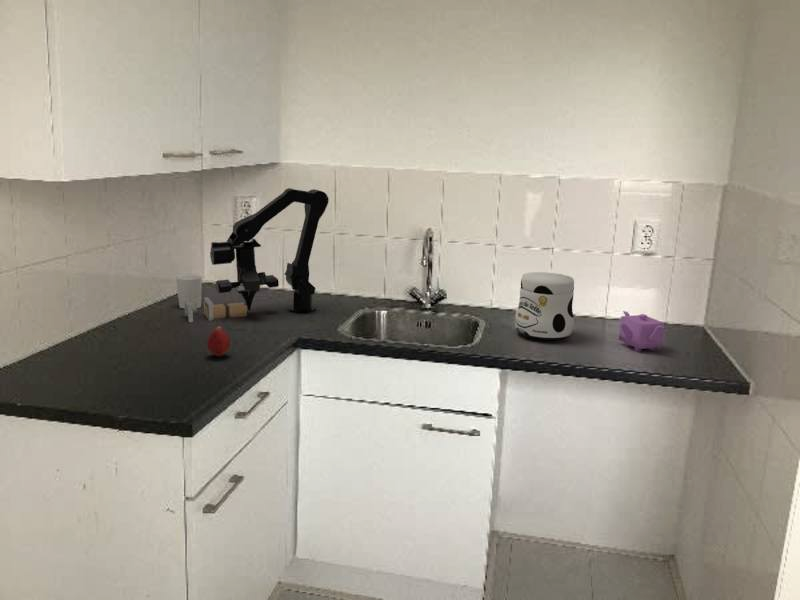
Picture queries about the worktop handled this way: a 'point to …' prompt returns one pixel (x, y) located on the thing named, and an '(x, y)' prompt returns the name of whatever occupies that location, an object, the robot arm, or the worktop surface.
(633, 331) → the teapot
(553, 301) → the milk container
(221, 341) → the onion
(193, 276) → the white cup
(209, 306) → the gray bracket rail
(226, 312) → the taped cardboard box
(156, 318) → the worktop surface
